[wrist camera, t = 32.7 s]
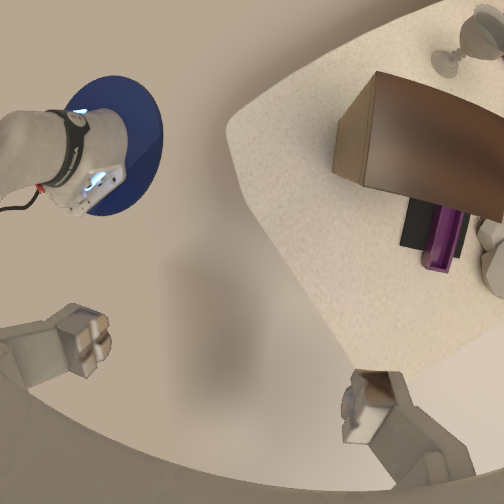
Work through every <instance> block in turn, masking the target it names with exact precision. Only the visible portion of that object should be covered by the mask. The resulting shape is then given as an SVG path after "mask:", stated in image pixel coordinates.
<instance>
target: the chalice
mask: <svg viewBox="0 0 504 504" xmlns="http://www.w3.org/2000/svg"><path fill="white" fill-rule="evenodd" d="M460 47H461V48H458V49H457V52H455V51H453V52H452V53H449V52H446V51H436V52H434V53H433V54H432V56H431V63H432V65H433V68H434V69H435V70H436V72H437V73H438V74H440V75H441V76H443V77H445V78H452V77H454V76H455V75H456V73H457V68H458V63H457V61H460V60H461V57H462V58H464V57H465V56H466V55H468V56H470V57H473V58H477V59H481V60H495V59H497V58H499V57H501V56H503V55H504V15H503V14H502V13H501V12H500V11H498V10H497V9H495V8H494V7H491V6H489V5H484V4H481V5H478V6H476V8H475V10H474V15H473V16H471V17H470V18H469V19H468V20H467V21H465V22H464V24H463V25H462V28H461V32H460Z"/></svg>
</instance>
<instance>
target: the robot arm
mask: <svg viewBox="0 0 504 504" xmlns="http://www.w3.org/2000/svg"><path fill="white" fill-rule="evenodd" d="M127 146H128V136H127V130H126V127H125V124H124V122H123V120H122V119H121V117H120V116H119V115H118V114H117V113H116V112H114V111H113V110H110V109H105V108H102V109H97V110H93V111H87V110H85V109H84V110H78V111H68V110H47V111H45V112H42V111H14V112H11V113H9V114H7V115H6V116H5V117H3V118H2V119H1V120H0V201H1V200H2V199H3V198H4V197H5V196H7V195H8V194H10V193H11V192H13V191H16V190H18V189H21V188H24V187H27V186H31V185H35V186H36V187H37V190H36V193H35V195H34V196H33V198H32V199H31V201H30V202H29V203H28V204H26V205H25V206H12V207H3V208H0V212H1V211H5V210H25V209H27V208H29V207H30V206H31V205H32V204H33V202H34V201H35V200H36V198H37V196H38V195H39V193H40V194H41V191H42V192H43V193H45V191H46V193H47V194H48V196H49V197H50V199H51V200H52V201H53V202H54V203H55V204H56V205H57V206H59V207H61V208H65V209H67V211H68V212H70V213H71V214H72V215H74V216H76V217H81V216H83V215H84V214H85V213H86V212H87V211H89V210H90V209H91V208H92V207H93V206H94V205H96V204H97V203H98V202H99V201H100V200H101V199H103V198H104V197H105V196H106V195H107V194H109V193H110V192H111V191H112V190H114V189H115V188H116V187H117V186H119V185H120V184H121V183H122V182H124V180H125V179H126V168H125V157H126V153H127ZM115 178H116V181H115ZM42 186H43V187H44V189H45V190H44V189H43V187H42ZM108 327H109V321H108V317H107V316H106V315H105V314H102V313H100V312H97V311H94V310H92V309H89V308H86V307H83V306H81V305H78V304H75V303H70V304H68V305H67V306H65V307H64V308H62V309H61V310H60V311H58V312H57V313H55V314H54V315H52V316H51V317H50V318H48V319H47V320H46V321H36V322H31V323H26V324H21V325H16V326H11V327H6V328H1V329H0V504H504V468H501V469H498V470H495V471H491V472H488V473H485V474H481V475H477V476H476V473H475V469H474V467H473V464H472V461H471V458H470V455H469V452H468V450H467V447H466V446H465V445H464V444H463V443H462V442H460V441H459V440H458V439H457V438H455V437H454V436H453V435H452V434H450V433H449V432H448V431H447V430H446V429H445V428H443V427H442V426H441V425H440V424H439V423H437V422H436V421H435V420H433V418H431V417H430V416H429V415H428V414H427V413H425V412H424V411H423V410H422V409H420V408H419V407H418V406H413V403H412V400H411V397H410V394H409V391H408V388H407V385H406V383H405V380H404V377H403V375H402V373H401V372H400V371H374V370H363V369H355V371H354V372H353V374H352V376H351V386H350V387H348V388H347V389H346V390H345V393H344V396H343V399H342V404H341V417H342V418H343V419H344V420H345V422H344V424H343V426H342V435H343V443H348V444H365V445H366V444H367V445H369V447H370V449H371V450H372V451H373V453H374V454H375V455H376V457H377V458H378V459H379V461H380V462H381V463H382V465H383V466H384V467H385V469H386V470H387V472H388V473H389V474H390V476H391V477H392V478H393V480H394V481H395V482H396V485H395V486H394V487H393V488H392V489H391V490H381V491H319V490H305V489H294V488H285V487H277V486H270V485H263V484H257V483H251V482H246V481H240V480H235V479H231V478H226V477H222V476H217V475H213V474H209V473H205V472H202V471H198V470H194V469H191V468H187V467H184V466H181V465H178V464H174V463H171V462H168V461H165V460H162V459H160V458H157V457H154V456H151V455H149V454H146V453H143V452H141V451H138V450H136V449H133V448H131V447H128V446H126V445H124V444H121V443H119V442H117V441H114V440H112V439H110V438H108V437H106V436H104V435H102V434H99V433H97V432H95V431H93V430H91V429H89V428H87V427H85V426H83V425H82V424H80V423H78V422H76V421H74V420H72V419H71V418H69V417H67V416H65V415H63V414H62V413H60V412H58V411H57V410H55V409H53V408H52V407H50V406H48V405H47V404H45V403H44V402H42V401H41V400H39V399H37V398H36V397H34V396H32V395H31V394H30V393H29V392H28V388H30V387H33V386H36V385H38V384H41V383H43V382H45V381H48V380H50V379H53V378H55V377H57V376H60V375H62V374H64V373H67V372H68V371H70V372H73V373H75V374H77V375H79V376H82V377H84V378H86V379H87V378H88V377H89V376H90V375H91V374H92V373H93V372H94V371H95V370H96V368H97V363H98V362H101V361H104V360H105V359H106V358H107V356H108V355H109V352H110V350H111V344H112V341H111V336H110V334H109V333H108V331H107V328H108Z"/></svg>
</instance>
